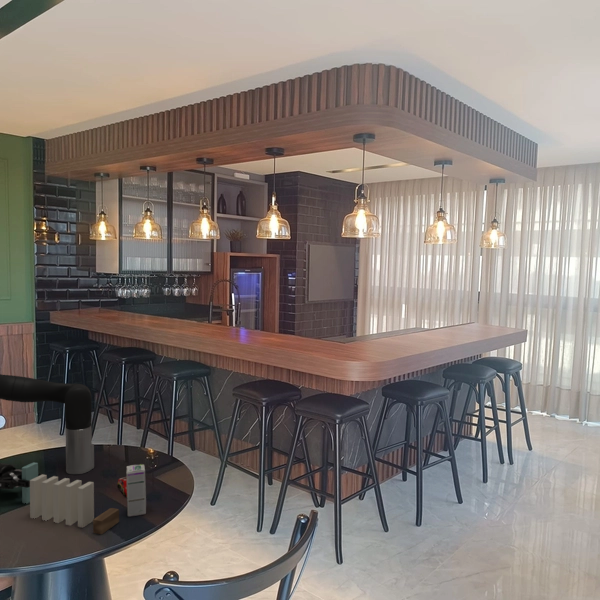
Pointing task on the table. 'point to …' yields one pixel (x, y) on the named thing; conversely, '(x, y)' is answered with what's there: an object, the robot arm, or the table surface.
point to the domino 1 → (28, 474)
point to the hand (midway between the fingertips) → (36, 480)
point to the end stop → (105, 521)
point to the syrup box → (136, 490)
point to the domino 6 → (85, 504)
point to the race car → (123, 485)
